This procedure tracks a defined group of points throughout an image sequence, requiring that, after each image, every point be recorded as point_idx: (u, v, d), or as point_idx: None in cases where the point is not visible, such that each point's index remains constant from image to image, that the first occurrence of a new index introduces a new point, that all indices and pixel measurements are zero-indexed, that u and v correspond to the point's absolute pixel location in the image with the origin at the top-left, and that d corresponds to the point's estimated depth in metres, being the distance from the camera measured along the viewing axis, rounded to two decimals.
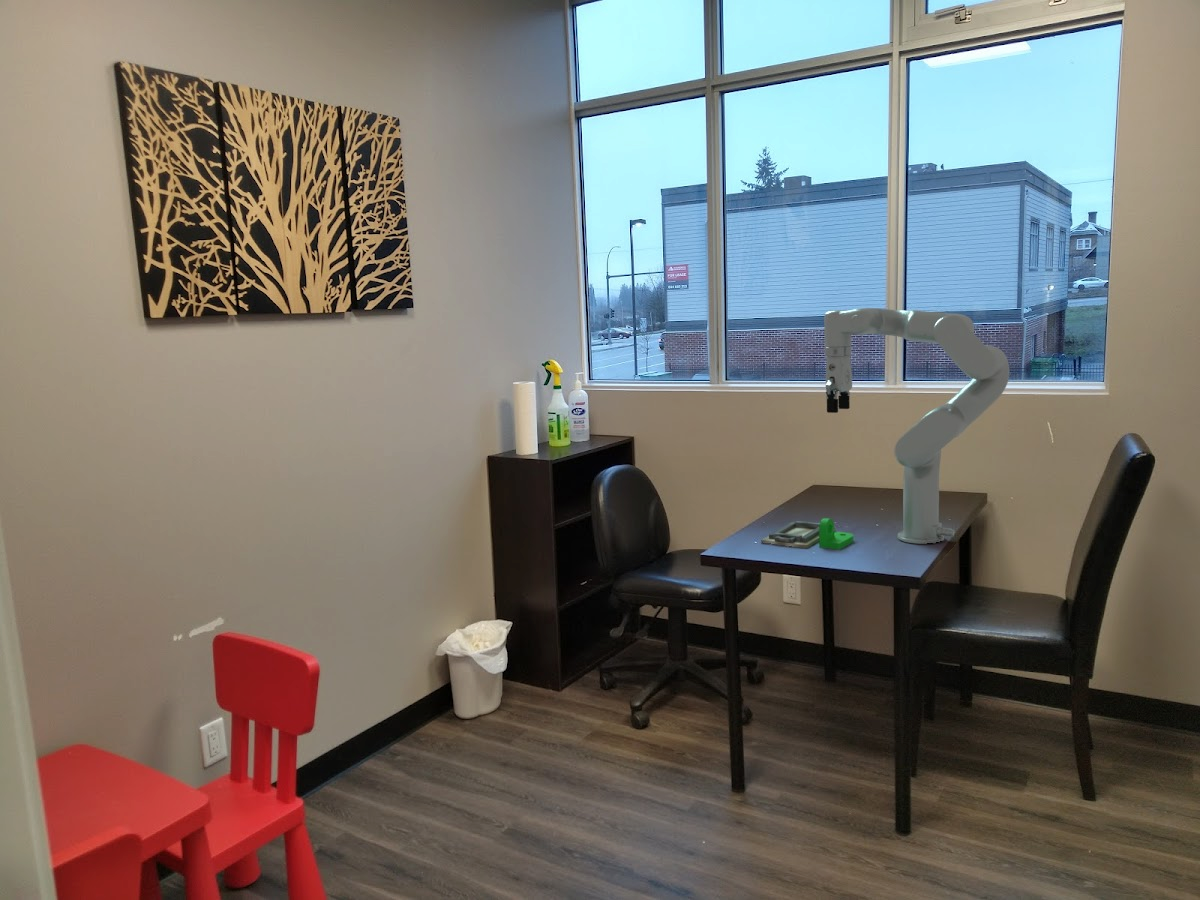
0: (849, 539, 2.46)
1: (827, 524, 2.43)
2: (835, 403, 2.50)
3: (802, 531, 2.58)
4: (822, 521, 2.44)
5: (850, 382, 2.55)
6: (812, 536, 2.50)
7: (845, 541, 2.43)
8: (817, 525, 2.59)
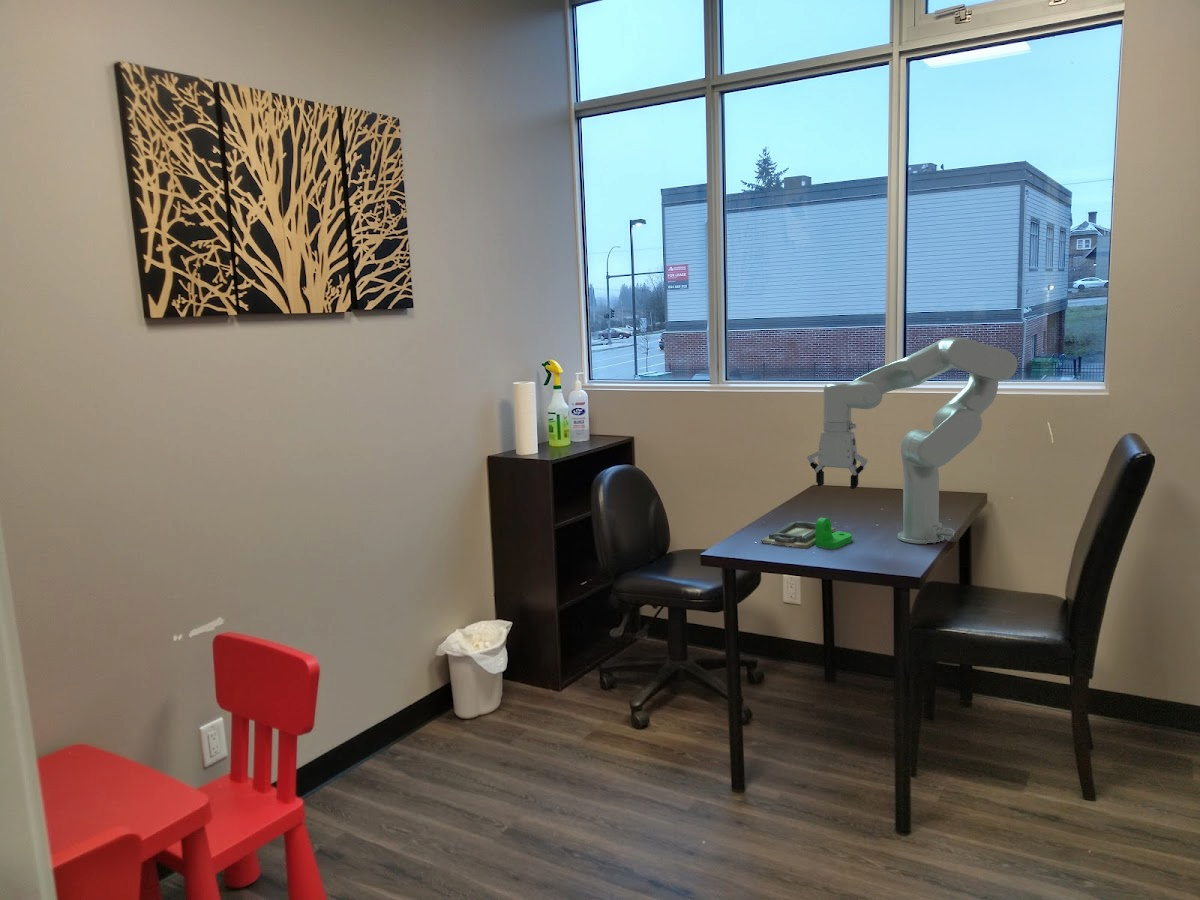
0: (846, 539, 2.46)
1: (823, 523, 2.44)
2: None
3: (802, 531, 2.58)
4: (819, 520, 2.45)
5: None
6: (812, 536, 2.50)
7: (842, 541, 2.44)
8: None
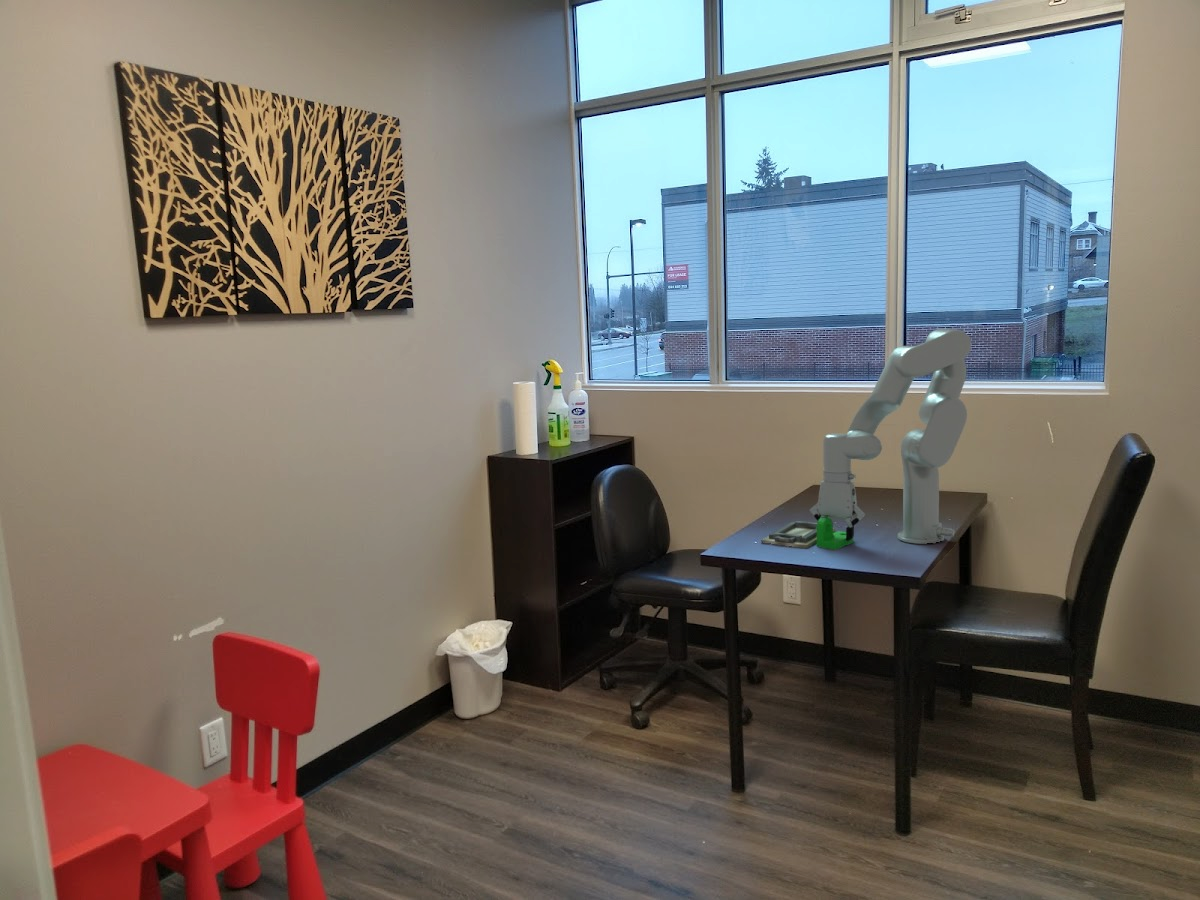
0: None
1: (825, 523, 2.43)
2: None
3: (802, 531, 2.58)
4: (820, 520, 2.44)
5: None
6: (812, 536, 2.50)
7: (843, 540, 2.43)
8: None
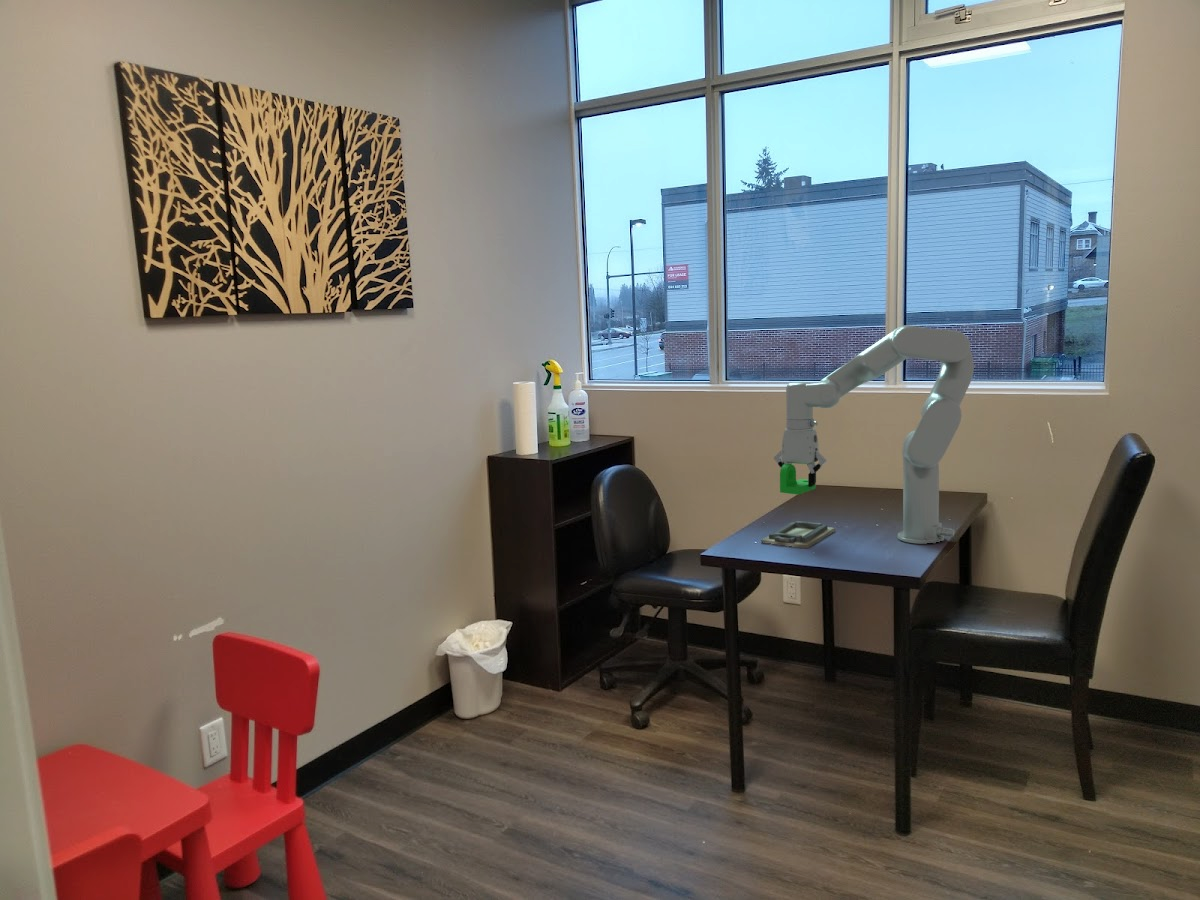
0: None
1: (788, 469, 2.50)
2: None
3: (802, 531, 2.58)
4: (783, 466, 2.50)
5: None
6: (812, 536, 2.50)
7: (805, 486, 2.50)
8: (817, 525, 2.59)
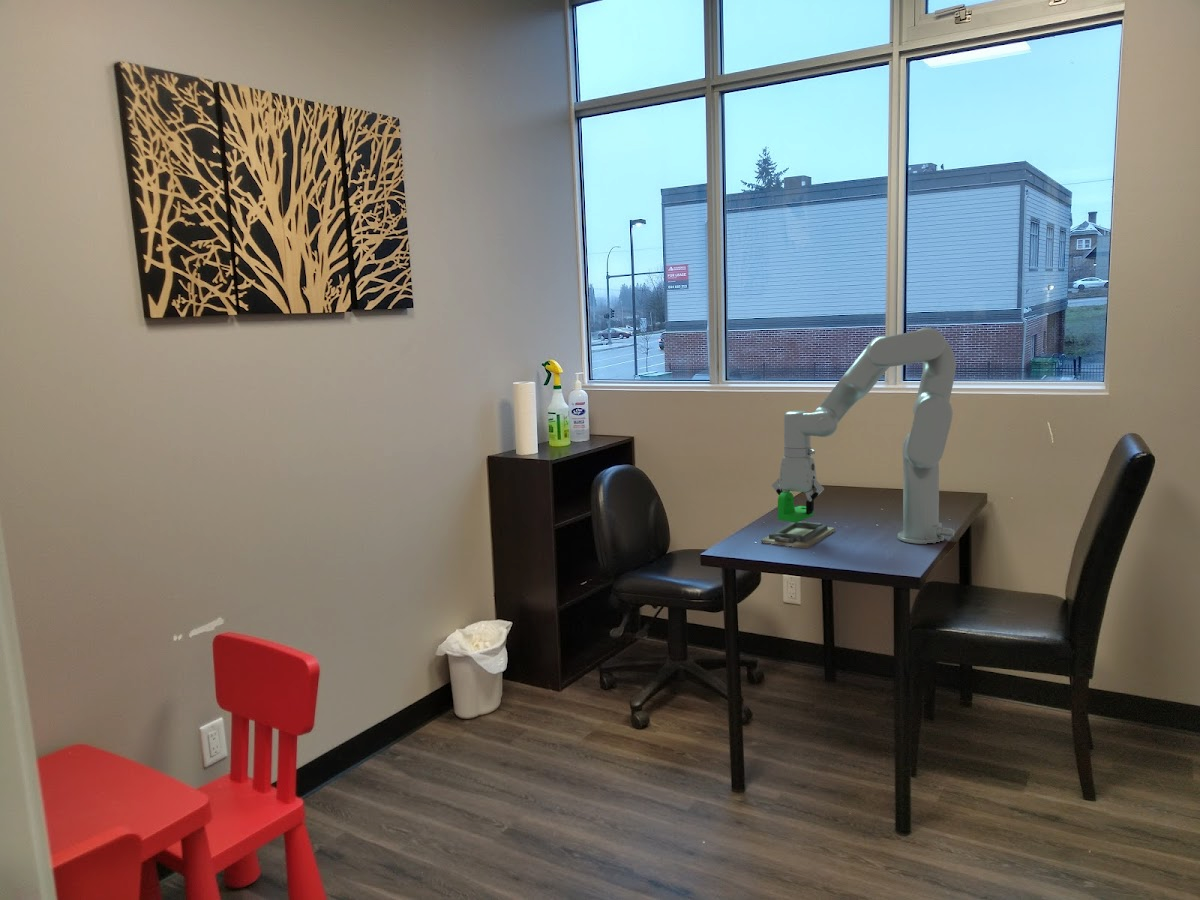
0: None
1: (785, 497, 2.52)
2: None
3: (802, 531, 2.58)
4: (781, 494, 2.52)
5: None
6: (812, 536, 2.50)
7: (803, 514, 2.52)
8: (817, 525, 2.59)
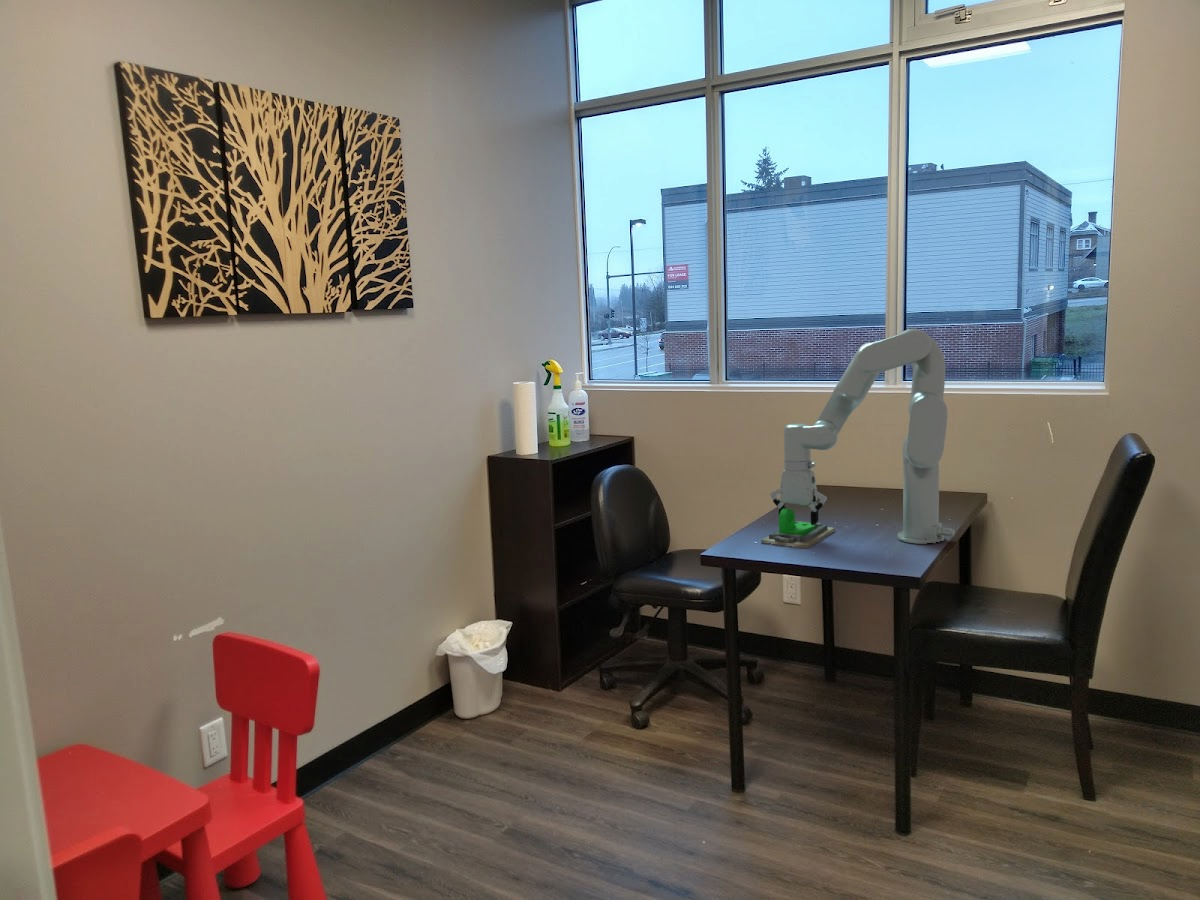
0: (809, 529, 2.54)
1: (786, 514, 2.52)
2: None
3: None
4: (782, 511, 2.53)
5: None
6: (812, 536, 2.50)
7: (804, 531, 2.52)
8: (817, 525, 2.59)
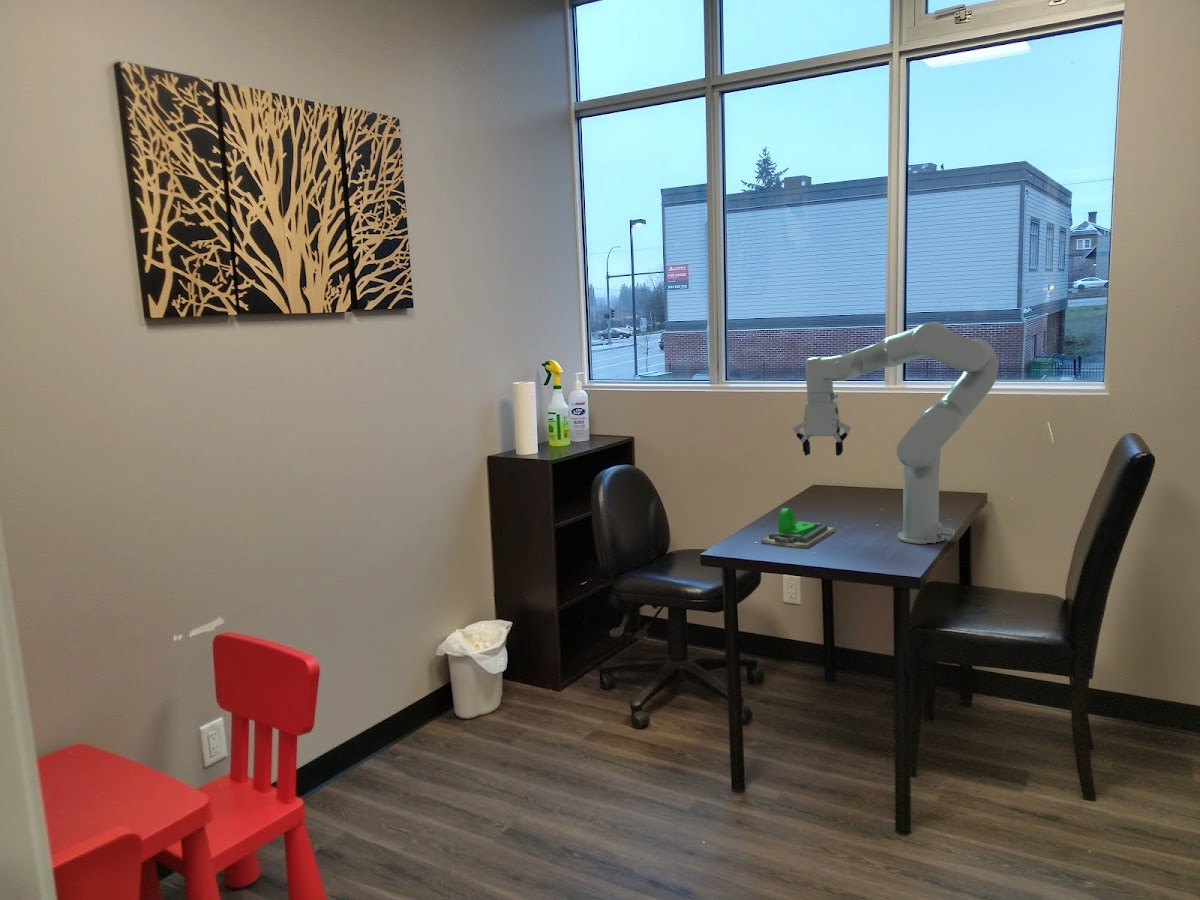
0: (809, 529, 2.54)
1: (786, 514, 2.52)
2: None
3: None
4: (782, 511, 2.53)
5: None
6: (812, 536, 2.50)
7: (804, 530, 2.52)
8: (817, 525, 2.59)
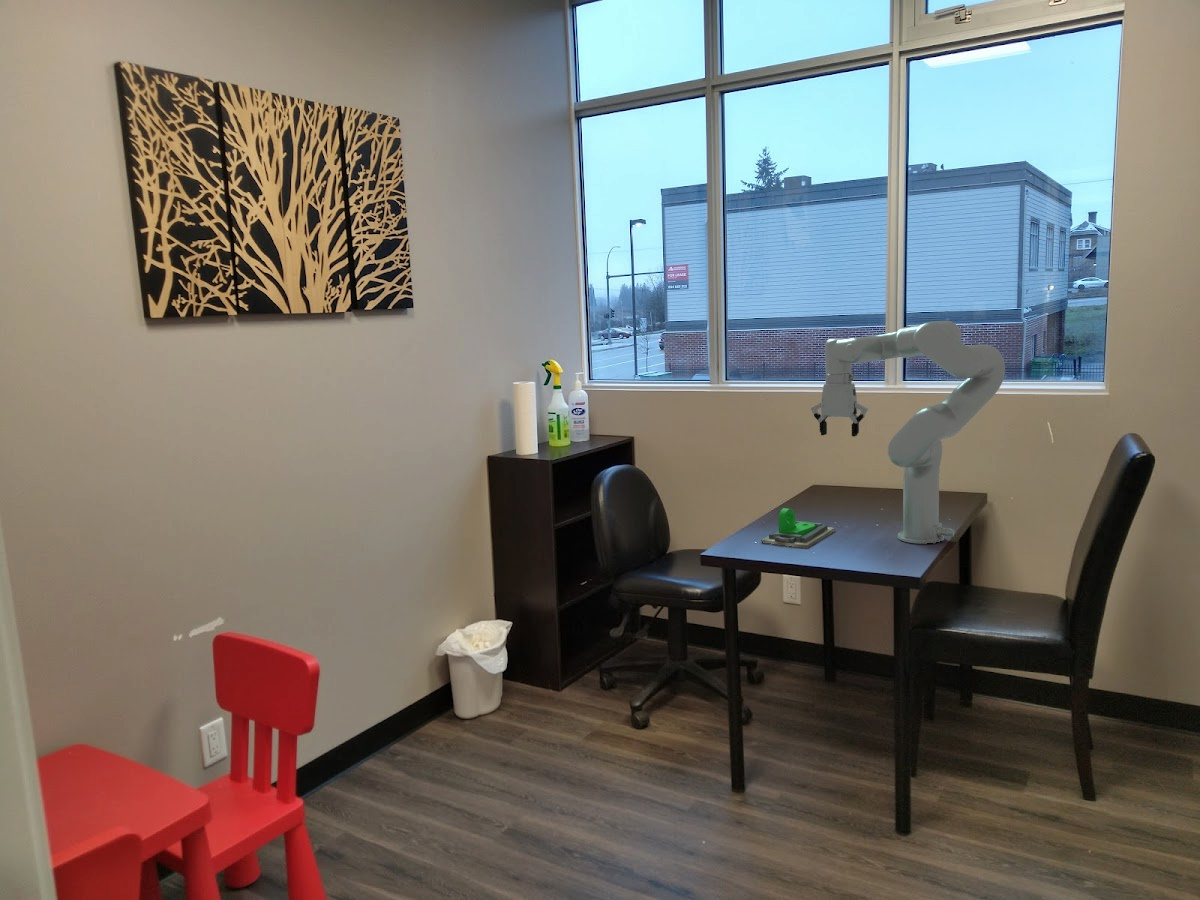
0: (809, 529, 2.54)
1: (786, 514, 2.52)
2: None
3: None
4: (782, 511, 2.53)
5: None
6: (812, 536, 2.50)
7: (804, 531, 2.52)
8: (817, 525, 2.59)
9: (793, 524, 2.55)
